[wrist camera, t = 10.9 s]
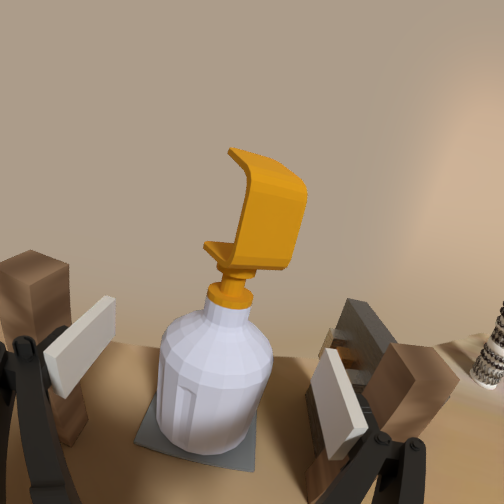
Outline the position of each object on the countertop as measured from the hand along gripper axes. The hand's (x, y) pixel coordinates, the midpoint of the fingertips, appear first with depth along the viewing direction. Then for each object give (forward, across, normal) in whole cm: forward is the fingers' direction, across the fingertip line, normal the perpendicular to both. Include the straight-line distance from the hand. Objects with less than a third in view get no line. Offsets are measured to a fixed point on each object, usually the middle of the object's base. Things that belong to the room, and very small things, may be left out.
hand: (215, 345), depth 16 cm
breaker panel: (+6, +13, -14) cm, 20 cm away
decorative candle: (+16, +56, -14) cm, 59 cm away
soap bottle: (+4, 0, -13) cm, 14 cm away
